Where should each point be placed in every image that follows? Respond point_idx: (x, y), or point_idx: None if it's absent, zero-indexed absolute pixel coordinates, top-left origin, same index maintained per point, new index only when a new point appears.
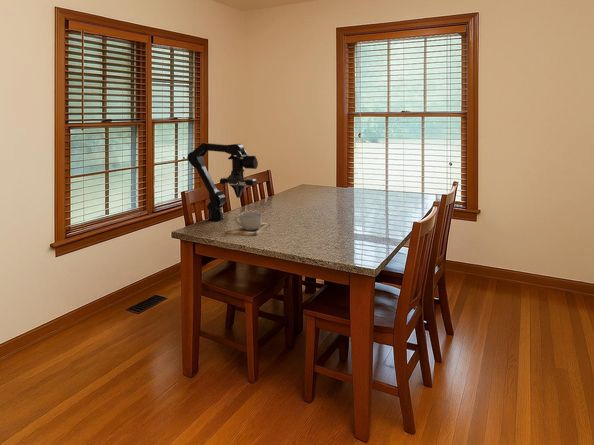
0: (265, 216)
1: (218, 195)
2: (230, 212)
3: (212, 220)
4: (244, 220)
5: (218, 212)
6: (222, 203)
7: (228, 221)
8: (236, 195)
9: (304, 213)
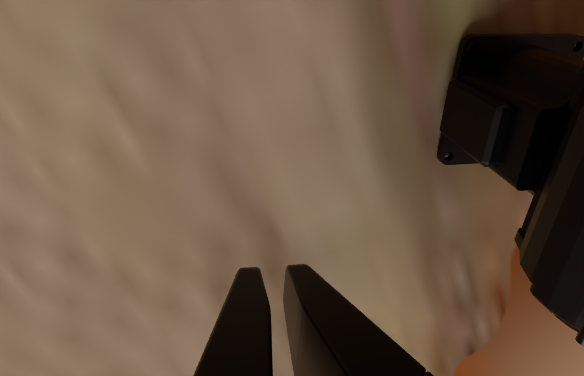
0: (79, 372)
1: None
2: None
3: (530, 34)
4: None
5: (521, 95)
6: (551, 182)
7: (351, 70)
8: (326, 295)
9: None
